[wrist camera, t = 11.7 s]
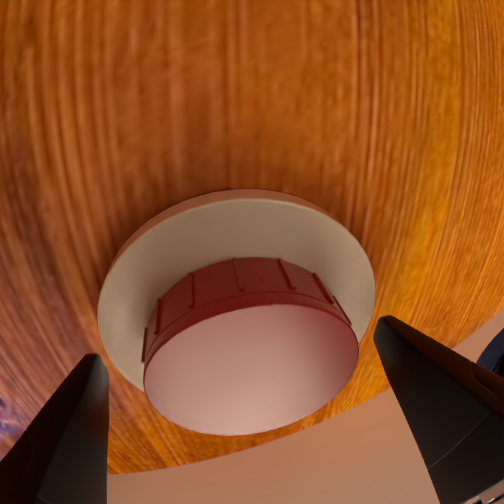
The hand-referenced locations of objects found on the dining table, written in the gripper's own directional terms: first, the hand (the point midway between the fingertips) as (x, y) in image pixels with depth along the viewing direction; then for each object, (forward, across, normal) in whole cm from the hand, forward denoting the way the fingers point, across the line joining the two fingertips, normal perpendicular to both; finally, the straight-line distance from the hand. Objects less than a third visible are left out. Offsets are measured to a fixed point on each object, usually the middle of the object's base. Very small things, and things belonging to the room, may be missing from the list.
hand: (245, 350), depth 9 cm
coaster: (+1, 0, 0) cm, 1 cm away
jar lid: (-1, 0, 0) cm, 1 cm away
